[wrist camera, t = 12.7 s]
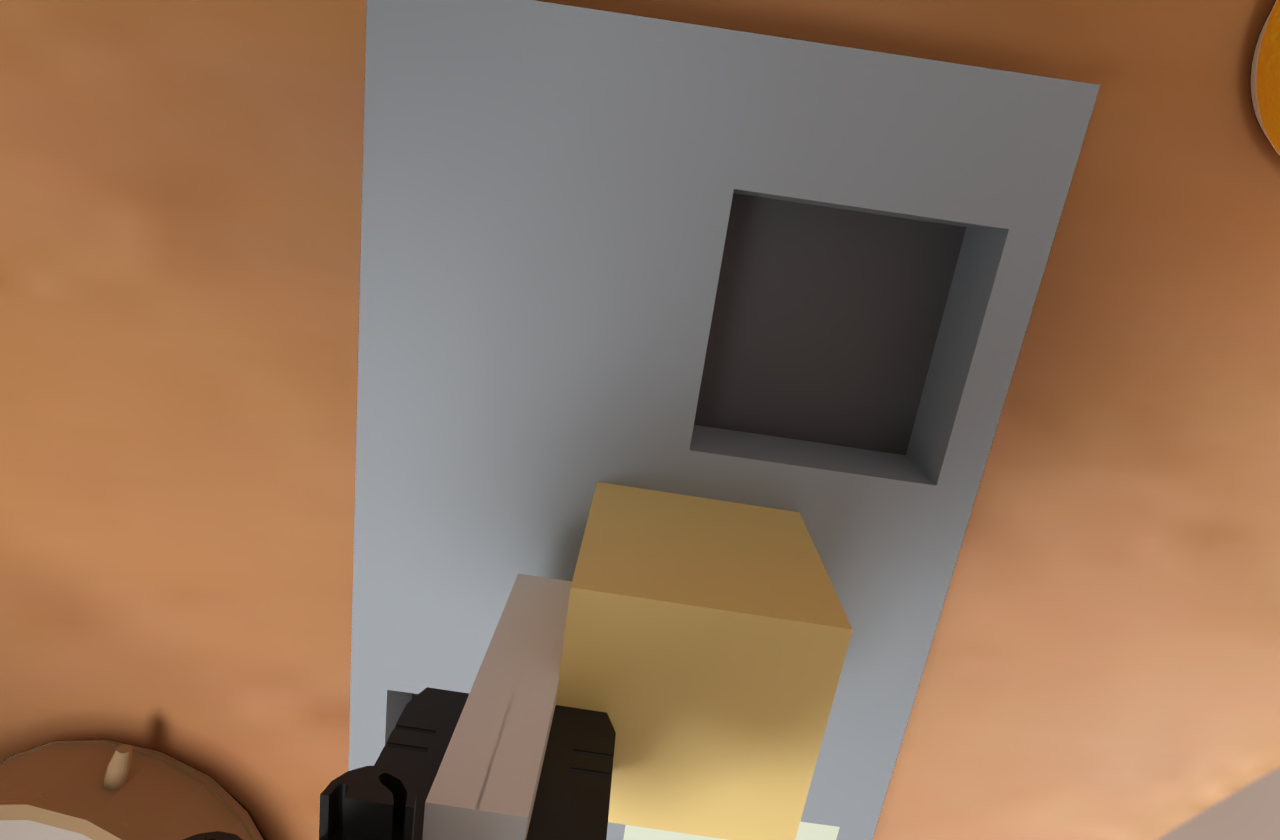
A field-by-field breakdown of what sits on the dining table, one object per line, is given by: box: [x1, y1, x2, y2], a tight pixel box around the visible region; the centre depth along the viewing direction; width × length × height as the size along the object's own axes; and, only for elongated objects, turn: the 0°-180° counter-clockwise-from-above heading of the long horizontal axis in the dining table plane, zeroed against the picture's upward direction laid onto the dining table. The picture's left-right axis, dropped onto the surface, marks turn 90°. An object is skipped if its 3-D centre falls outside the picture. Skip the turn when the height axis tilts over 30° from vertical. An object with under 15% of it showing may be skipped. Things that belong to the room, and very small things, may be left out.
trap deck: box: [349, 0, 1100, 840], centre depth 19 cm, size 26×15×2 cm, turn 172°
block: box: [556, 482, 853, 840], centre depth 15 cm, size 5×5×5 cm
